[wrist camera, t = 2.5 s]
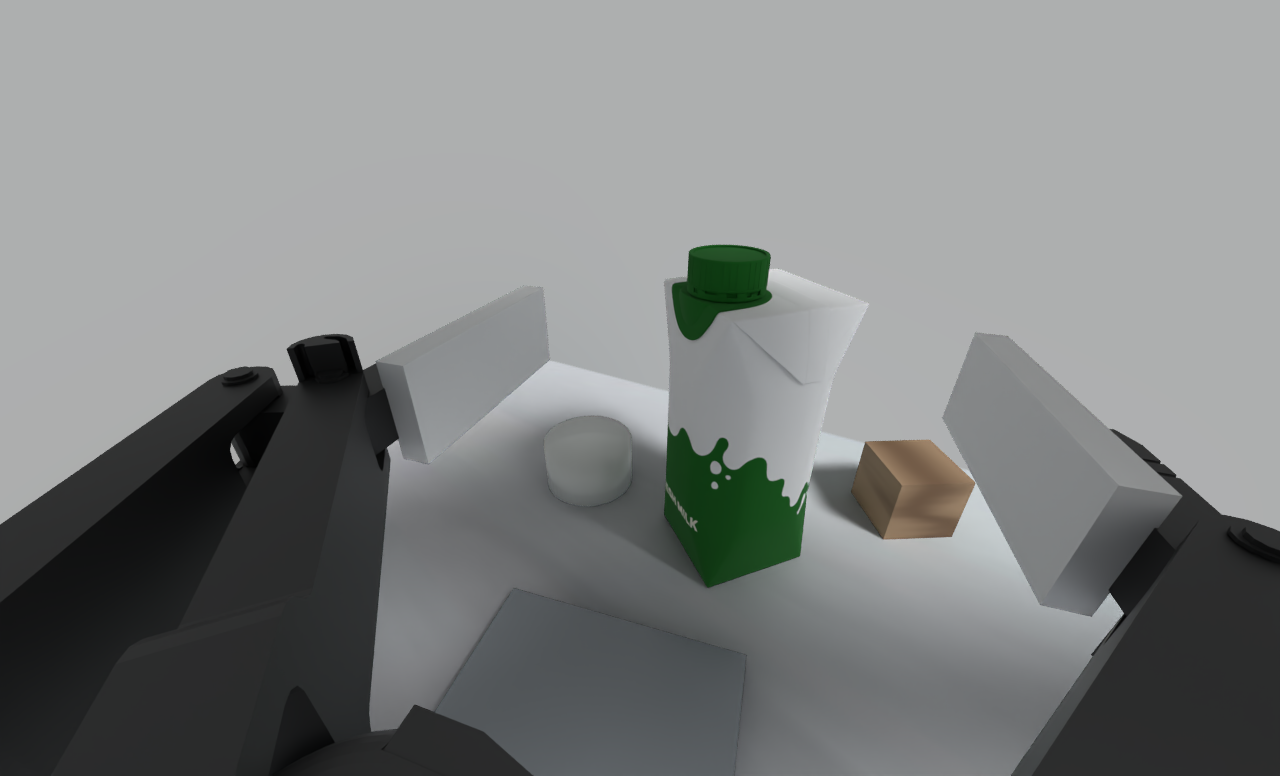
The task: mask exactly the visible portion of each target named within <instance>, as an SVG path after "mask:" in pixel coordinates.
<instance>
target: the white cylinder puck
mask: <svg viewBox="0 0 1280 776" xmlns="http://www.w3.org/2000/svg"><path fill="white" fill-rule="evenodd" d="M543 445H544V453H545V461H546V469H547V477H548V485H549V488H550V491H551V492H552V494H553V495H554V496H555V497H556V498H558V499H559V500H561V501H563V502H565V503H568V504H571V505H575V506H597V505H602V504H605V503H608V502H611V501H613V500H615V499H617V498H618V497H620V496H621V495H622V494H623V493H625V492H626V490H627V489H628V488H629V486H630V484H631V480H632V440H631V433H630V431H629V430H628V428H627V427H626V426H625V425H623V424H622V423H620V422H619V421H616V420H614V419H611V418H607V417H602V416H582V417H576V418H572V419H569V420H566V421H563V422H561V423H559V424H557V425H556V426H554V427H553V428H552V429H551V430H550V431H549V432H548V433H547V434H546V436H545V438H544V443H543Z"/></svg>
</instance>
